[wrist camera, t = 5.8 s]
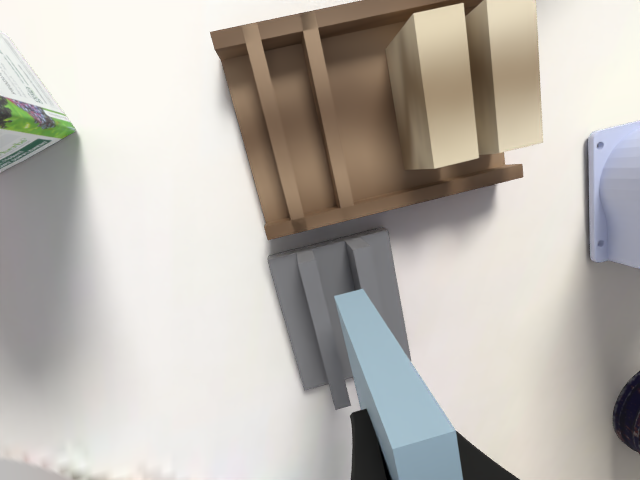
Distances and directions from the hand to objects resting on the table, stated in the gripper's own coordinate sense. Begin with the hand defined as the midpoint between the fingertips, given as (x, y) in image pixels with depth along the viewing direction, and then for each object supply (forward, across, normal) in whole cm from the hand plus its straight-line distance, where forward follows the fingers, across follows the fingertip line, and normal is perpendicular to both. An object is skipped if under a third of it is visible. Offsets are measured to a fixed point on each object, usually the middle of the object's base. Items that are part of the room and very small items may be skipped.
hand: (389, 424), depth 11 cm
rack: (+10, -4, -12) cm, 17 cm away
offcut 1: (+10, -7, -12) cm, 17 cm away
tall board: (+4, 0, 0) cm, 4 cm away
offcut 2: (+10, -10, -12) cm, 19 cm away
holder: (+10, 0, 0) cm, 10 cm away
